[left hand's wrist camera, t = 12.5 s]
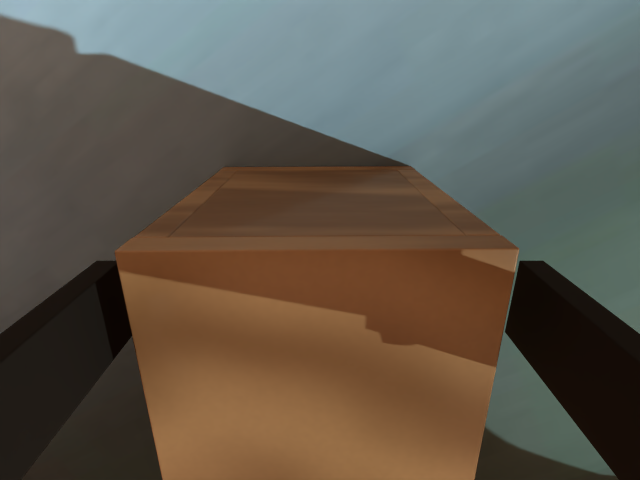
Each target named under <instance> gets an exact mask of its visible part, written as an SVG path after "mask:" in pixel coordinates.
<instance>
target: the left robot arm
mask: <svg viewBox="0 0 640 480" xmlns="http://www.w3.org/2000/svg"><path fill="white" fill-rule="evenodd" d="M505 332H506V334H507V335H508V336H509V338H510V339H511V340H512V341H513V343H514V344H515V345H516V347H517V348H518V349H519V351H520V352H521V353H522V354H523V356H524V357H525V358H526V360H527V361H528V362H529V363H530V365H531V366H532V367H533V369H534V370H535V371H536V373H537V374H538V375H539V376H540V378H541V379H542V380H543V382H544V383H545V384H546V386H547V387H548V388H549V389H550V391H551V392H552V393H553V395H554V396H555V397H556V398H557V400H558V401H559V402H560V404H561V405H562V406H563V408H564V409H565V410H566V411H567V413H568V414H569V415H570V417H571V418H572V419H573V421H574V422H575V423H576V424H577V426H578V427H579V428H580V430H581V431H582V432H583V434H584V435H585V436H586V437H587V439H588V440H589V441H590V443H591V444H592V445H593V446H594V448H595V449H596V450H597V452H598V453H599V454H600V456H601V457H602V458H603V459H604V461H605V462H606V463H607V465H608V466H609V467H610V469H611V470H612V471H613V472H614V474H615V475H616V476H617V478H618V479H619V480H640V334H639V333H638V332H636V331H635V330H634V329H632V328H631V327H630V326H628V325H627V324H626V323H624V322H623V321H622V320H621V319H619V318H618V317H617V316H615V315H614V314H613V313H611V312H610V311H609V310H607V309H606V308H605V307H603V306H602V305H601V304H599V303H598V302H597V301H595V300H594V299H593V298H591V297H590V296H589V295H588V294H586V293H585V292H584V291H582V290H581V289H580V288H578V287H577V286H576V285H574V284H573V283H572V282H570V281H569V280H568V279H566V278H565V277H564V276H562V275H561V274H560V273H558V272H557V271H556V270H555V269H553V268H552V267H551V266H549V265H548V264H547V263H545V262H544V261H520V262H519V267H518V272H517V277H516V281H515V286H514V291H513V296H512V301H511V306H510V310H509V315H508V320H507V325H506V330H505ZM131 336H132V332H131V328H130V323H129V318H128V313H127V309H126V304H125V299H124V294H123V290H122V285H121V280H120V276H119V271H118V266H117V261H96V262H95V263H93V264H92V265H91V266H89V267H88V268H87V269H85V270H84V271H83V272H82V273H80V274H79V275H78V276H76V277H75V278H74V279H72V280H71V281H70V282H68V283H67V284H66V285H64V286H63V287H62V288H60V289H59V290H58V291H56V292H55V293H54V294H52V295H51V296H50V297H49V298H47V299H46V300H45V301H43V302H42V303H41V304H39V305H38V306H37V307H35V308H34V309H33V310H31V311H30V312H29V313H27V314H26V315H25V316H23V317H22V318H21V319H19V320H18V321H17V322H16V323H14V324H13V325H12V326H10V327H9V328H8V329H6V330H5V331H4V332H2V333H1V334H0V480H21V479H22V478H23V476H24V475H25V474H26V472H27V471H28V470H29V469H30V467H31V466H32V465H33V463H34V462H35V461H36V459H37V458H38V457H39V456H40V454H41V453H42V452H43V450H44V449H45V448H46V446H47V445H48V444H49V443H50V441H51V440H52V439H53V437H54V436H55V435H56V434H57V432H58V431H59V430H60V428H61V427H62V426H63V424H64V423H65V422H66V421H67V419H68V418H69V417H70V415H71V414H72V413H73V411H74V410H75V409H76V408H77V406H78V405H79V404H80V402H81V401H82V400H83V398H84V397H85V396H86V395H87V393H88V392H89V391H90V389H91V388H92V387H93V386H94V384H95V383H96V382H97V380H98V379H99V378H100V376H101V375H102V374H103V373H104V371H105V370H106V369H107V367H108V366H109V365H110V363H111V362H112V361H113V360H114V358H115V357H116V356H117V354H118V353H119V352H120V351H121V349H122V348H123V347H124V345H125V344H126V343H127V341H128V340H129V339H130V338H131Z"/></svg>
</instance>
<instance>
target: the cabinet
mask: <svg viewBox="0 0 640 480" xmlns="http://www.w3.org/2000/svg"><path fill="white" fill-rule="evenodd" d="M518 253H519V248H518V247H516V246H515V245H514V244H512V243H511V242H510V241H508V240H507V239H506V238H505V237H503V236H501V235H500V234H498V233H497V232H496V231H494V230H493V229H492V228H490V227H489V226H488V225H487V224H485V223H484V222H483V221H481V220H480V219H479V218H477V217H476V216H475V215H473V214H472V213H471V212H470V211H468V210H467V209H466V208H464V207H463V206H462V205H460V204H459V203H458V202H456V201H455V200H454V199H453V198H451V197H450V196H449V195H447V194H446V193H445V192H443V191H442V190H441V189H439V188H438V187H437V186H436V185H434V184H433V183H432V182H430V181H429V180H428V179H426V178H425V177H424V176H422V175H421V174H420V173H419V172H417V171H416V170H415V169H414V168H412V167H411V166H349V167H223V168H222V169H221V170H219V172H217V173H216V174H215V175H213V176H212V177H211V178H209V179H208V180H207V181H206V182H204V183H203V184H202V185H200V186H199V187H198V188H197V189H195V190H194V191H193V192H191V193H190V194H189V195H188V196H186V197H185V198H184V199H182V200H181V201H180V202H179V203H177V204H176V205H175V206H173V207H172V208H171V209H170V210H168V211H167V212H166V213H164V214H163V215H162V216H161V217H159V218H158V219H157V220H155V221H154V222H153V223H151V224H150V225H149V226H148V227H146V228H145V229H144V230H142V231H141V232H140V233H139V234H137V235H136V236H135V237H134V238H131V239H130V240H128V241H127V242H126V243H125V244H123V245H122V246H121V247H119V248H118V249H117V250H115V257H116V261H117V266H118V271H119V276H120V280H121V285H122V290H123V294H124V299H125V304H126V309H127V313H128V318H129V323H130V328H131V332H132V337H133V342H134V347H135V351H136V356H137V361H138V366H139V370H140V375H141V380H142V385H143V389H144V394H145V399H146V404H147V408H148V413H149V418H150V423H151V427H152V432H153V437H154V441H155V446H156V451H157V456H158V460H159V465H160V470H161V475H162V479H163V480H474V478H475V473H476V468H477V463H478V458H479V453H480V448H481V442H482V437H483V432H484V427H485V422H486V417H487V412H488V407H489V401H490V396H491V391H492V386H493V381H494V376H495V371H496V366H497V361H498V355H499V350H500V345H501V340H502V335H503V330H504V325H505V320H506V315H507V309H508V304H509V299H510V294H511V289H512V284H513V279H514V274H515V269H516V263H517V258H518Z"/></svg>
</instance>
